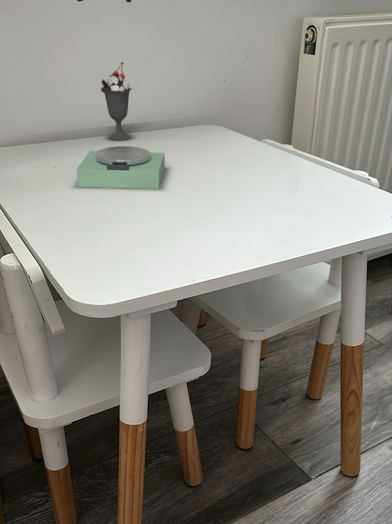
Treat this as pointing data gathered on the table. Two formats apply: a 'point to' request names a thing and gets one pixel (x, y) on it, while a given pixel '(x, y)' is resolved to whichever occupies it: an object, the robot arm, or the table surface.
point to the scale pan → (122, 155)
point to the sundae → (117, 101)
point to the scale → (121, 173)
